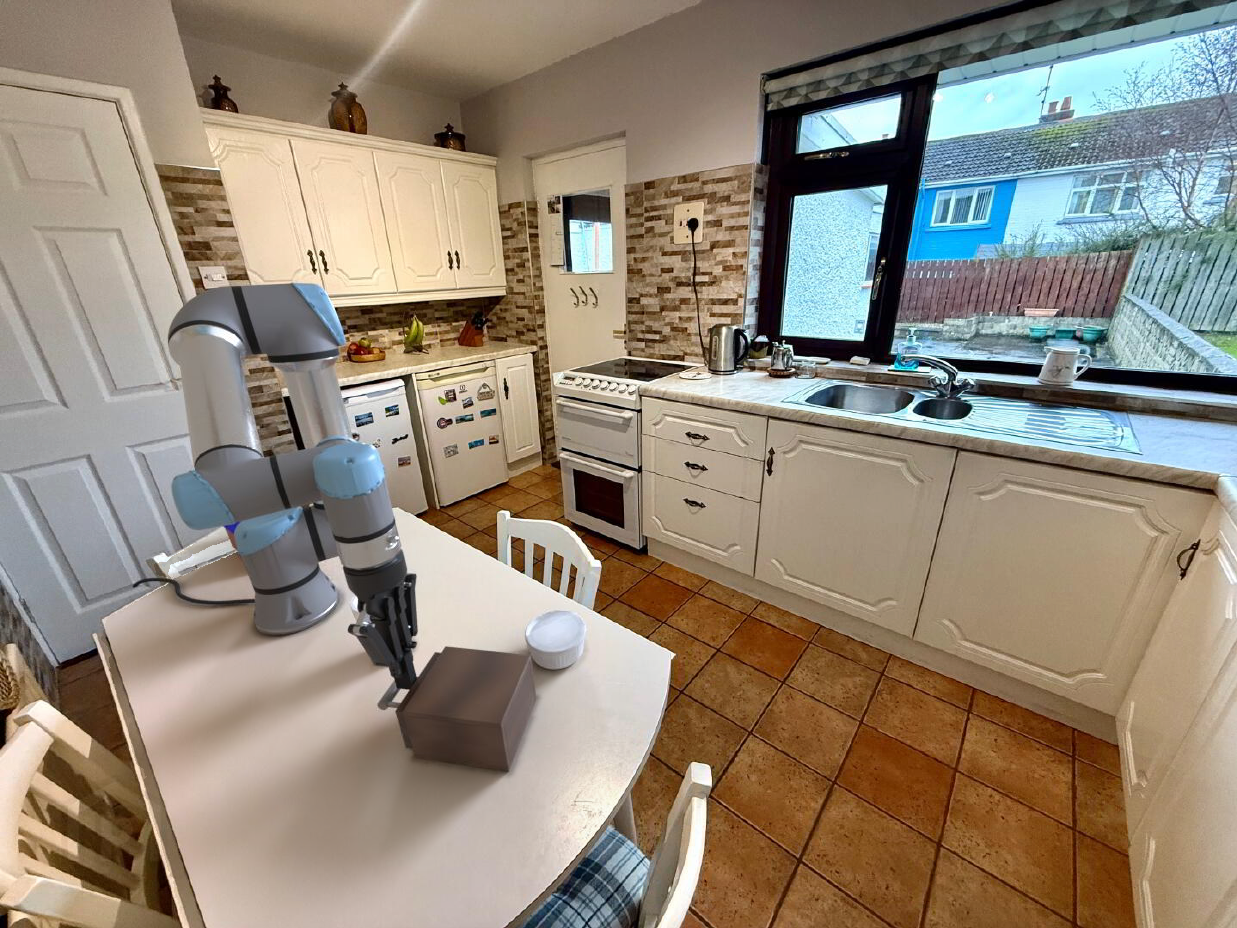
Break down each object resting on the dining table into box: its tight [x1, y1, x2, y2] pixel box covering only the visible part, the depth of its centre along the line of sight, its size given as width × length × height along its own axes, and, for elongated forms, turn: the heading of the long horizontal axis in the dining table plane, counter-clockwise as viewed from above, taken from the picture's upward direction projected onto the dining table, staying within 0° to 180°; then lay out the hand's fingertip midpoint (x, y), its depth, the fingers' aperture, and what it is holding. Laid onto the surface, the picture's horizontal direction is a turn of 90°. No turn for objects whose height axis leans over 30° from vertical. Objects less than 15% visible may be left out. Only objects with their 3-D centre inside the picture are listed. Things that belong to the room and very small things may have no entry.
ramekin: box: [524, 609, 587, 670], centre depth 89 cm, size 11×11×5 cm
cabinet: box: [403, 645, 537, 772], centre depth 74 cm, size 15×13×10 cm
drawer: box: [376, 651, 441, 750], centre depth 75 cm, size 19×11×8 cm, turn 81°
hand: (407, 685), depth 75 cm, fingers closed
